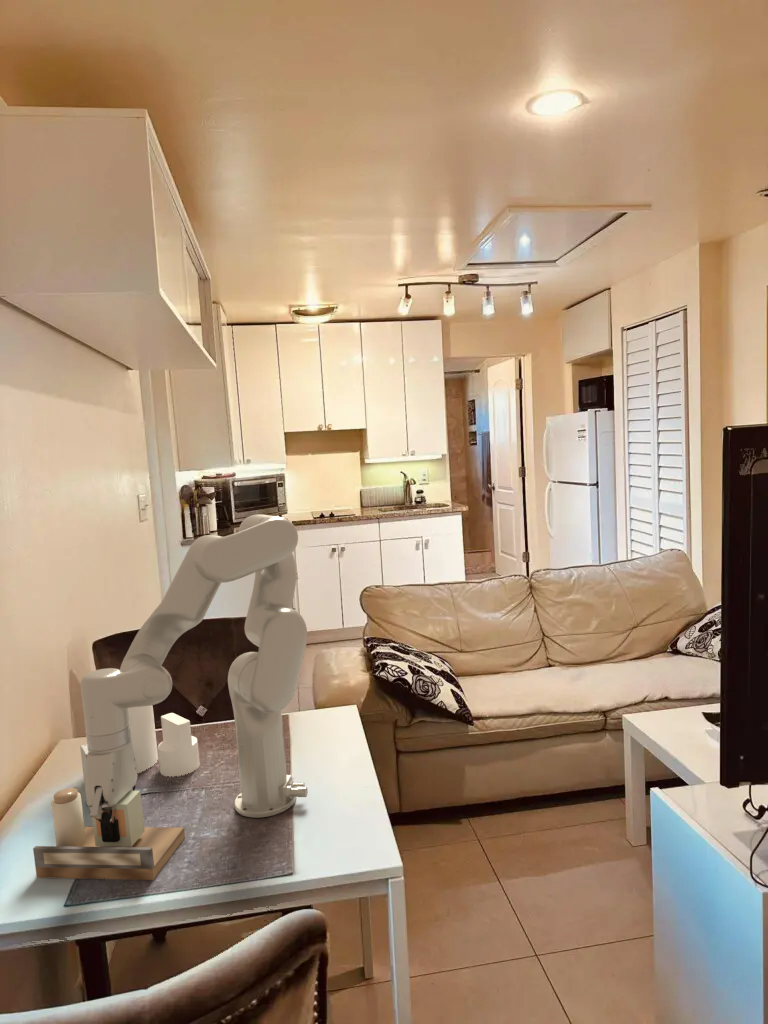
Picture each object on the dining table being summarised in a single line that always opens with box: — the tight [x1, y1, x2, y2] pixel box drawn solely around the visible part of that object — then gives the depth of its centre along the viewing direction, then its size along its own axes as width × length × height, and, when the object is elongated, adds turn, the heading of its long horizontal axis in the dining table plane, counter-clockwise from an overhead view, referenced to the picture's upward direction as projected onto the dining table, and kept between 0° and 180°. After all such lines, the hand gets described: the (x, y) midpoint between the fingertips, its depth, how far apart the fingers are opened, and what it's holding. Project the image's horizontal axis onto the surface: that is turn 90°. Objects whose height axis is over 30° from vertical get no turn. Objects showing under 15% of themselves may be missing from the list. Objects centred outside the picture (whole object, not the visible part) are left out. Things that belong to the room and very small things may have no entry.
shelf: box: [32, 826, 186, 881], centre depth 126 cm, size 22×13×6 cm, turn 82°
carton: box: [91, 790, 145, 847], centre depth 127 cm, size 5×7×8 cm
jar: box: [50, 787, 86, 847], centre depth 128 cm, size 5×5×10 cm
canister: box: [128, 705, 159, 774], centre depth 165 cm, size 14×14×20 cm
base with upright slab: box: [157, 712, 201, 778], centre depth 161 cm, size 9×9×12 cm
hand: (119, 831), depth 127 cm, fingers closed on carton, 5 cm apart
